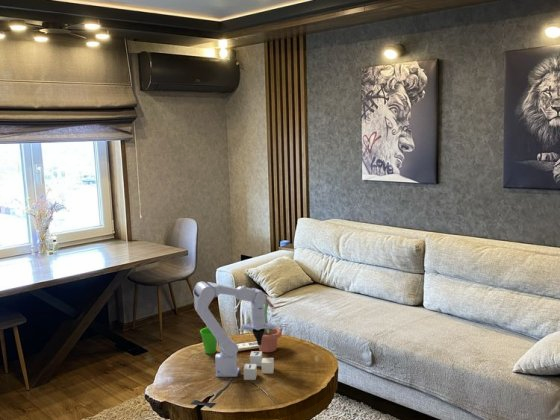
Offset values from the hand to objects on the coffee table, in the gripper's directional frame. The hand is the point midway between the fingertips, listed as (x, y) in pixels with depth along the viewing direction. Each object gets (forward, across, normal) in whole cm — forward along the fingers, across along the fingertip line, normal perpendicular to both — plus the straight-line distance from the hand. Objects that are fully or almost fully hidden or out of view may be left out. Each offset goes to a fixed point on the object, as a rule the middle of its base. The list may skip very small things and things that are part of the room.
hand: (259, 344), depth 257 cm
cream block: (+10, +4, -6) cm, 12 cm away
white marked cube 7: (+10, -2, +1) cm, 10 cm away
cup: (+10, -26, +15) cm, 31 cm away
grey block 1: (+10, -3, -12) cm, 16 cm away
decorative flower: (+10, +2, +16) cm, 19 cm away
